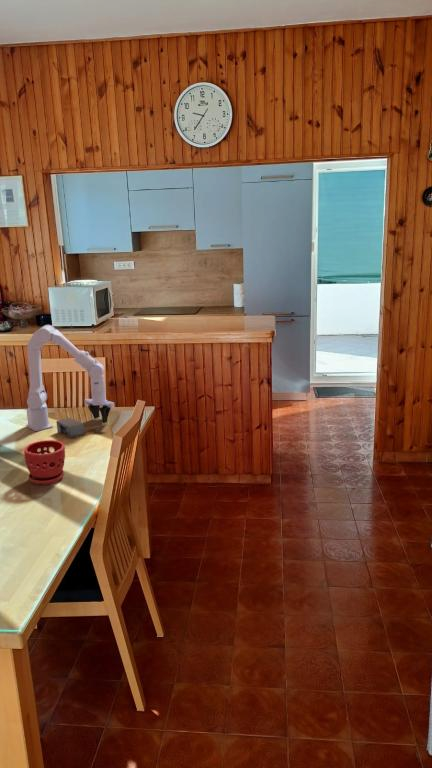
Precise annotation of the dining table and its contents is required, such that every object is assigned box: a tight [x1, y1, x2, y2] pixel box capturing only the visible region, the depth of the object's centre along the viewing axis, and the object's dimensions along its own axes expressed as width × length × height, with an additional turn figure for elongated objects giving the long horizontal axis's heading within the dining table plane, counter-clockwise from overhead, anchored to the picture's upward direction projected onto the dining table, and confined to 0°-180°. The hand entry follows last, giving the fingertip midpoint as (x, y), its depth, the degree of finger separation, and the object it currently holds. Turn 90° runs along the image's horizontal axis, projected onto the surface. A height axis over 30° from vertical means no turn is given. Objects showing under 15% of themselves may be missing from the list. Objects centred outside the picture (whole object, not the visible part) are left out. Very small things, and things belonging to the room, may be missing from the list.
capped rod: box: [82, 416, 109, 433], centre depth 250 cm, size 3×14×3 cm, turn 139°
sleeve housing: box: [56, 417, 85, 439], centre depth 244 cm, size 11×6×5 cm, turn 42°
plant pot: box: [23, 439, 66, 485], centre depth 200 cm, size 13×13×12 cm
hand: (101, 421), depth 253 cm, fingers closed on capped rod, 4 cm apart
